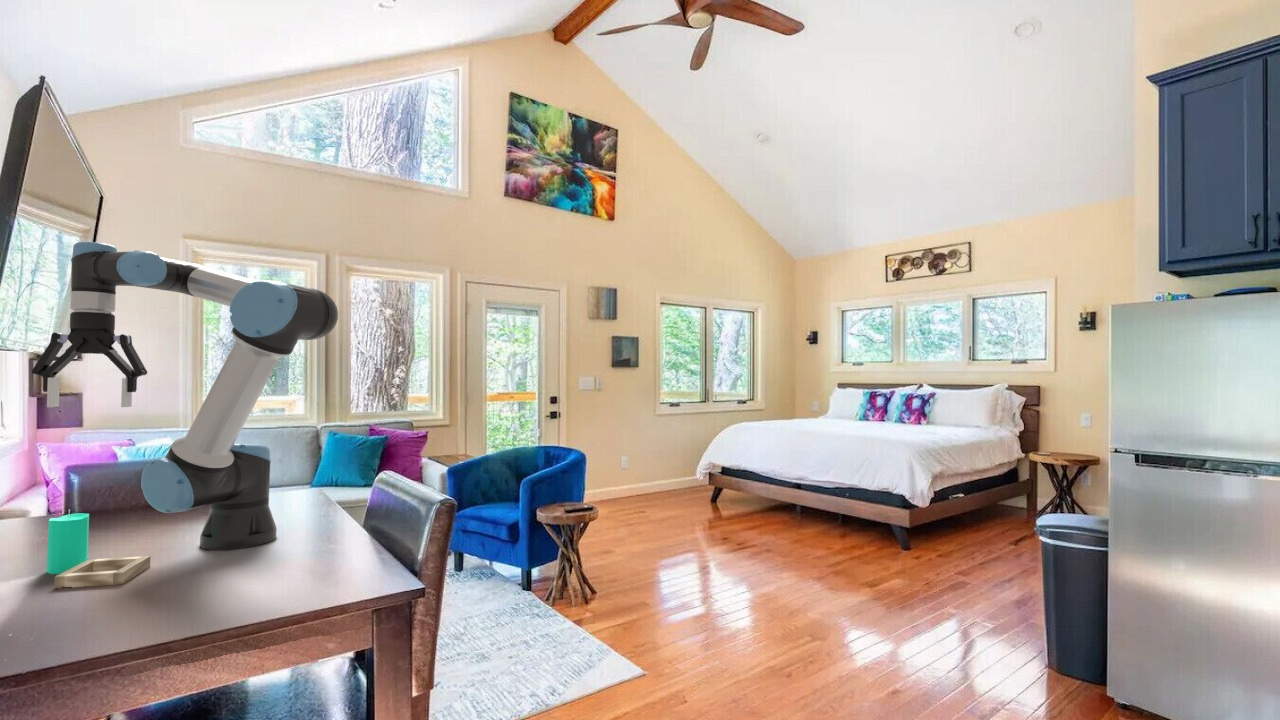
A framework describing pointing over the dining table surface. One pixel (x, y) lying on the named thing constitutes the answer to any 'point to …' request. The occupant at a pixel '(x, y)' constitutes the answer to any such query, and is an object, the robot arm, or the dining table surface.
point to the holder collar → (102, 572)
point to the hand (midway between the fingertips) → (90, 407)
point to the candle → (67, 542)
